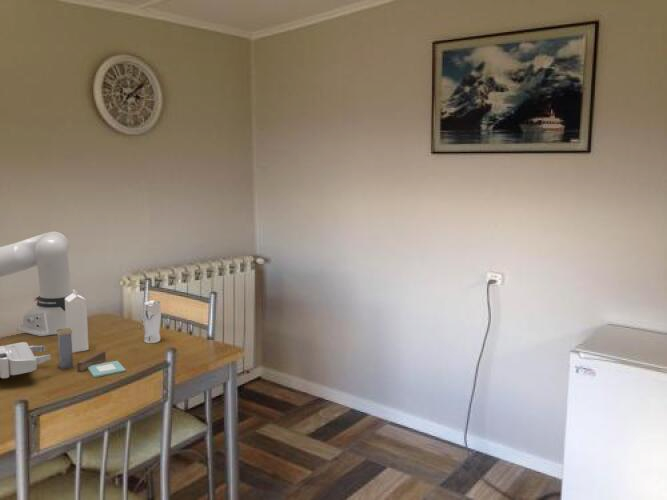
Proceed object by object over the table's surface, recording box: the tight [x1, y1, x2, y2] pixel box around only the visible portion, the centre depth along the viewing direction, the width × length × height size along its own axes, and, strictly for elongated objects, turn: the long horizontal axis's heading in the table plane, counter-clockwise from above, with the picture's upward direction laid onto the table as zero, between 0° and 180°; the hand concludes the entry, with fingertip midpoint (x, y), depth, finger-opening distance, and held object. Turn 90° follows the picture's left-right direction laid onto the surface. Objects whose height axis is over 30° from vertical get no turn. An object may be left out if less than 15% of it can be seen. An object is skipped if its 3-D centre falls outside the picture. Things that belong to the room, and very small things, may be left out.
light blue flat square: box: [87, 360, 127, 378], centre depth 193 cm, size 10×10×1 cm
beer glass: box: [141, 300, 162, 344], centre depth 222 cm, size 7×7×15 cm
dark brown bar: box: [76, 350, 107, 373], centre depth 196 cm, size 2×12×3 cm, turn 165°
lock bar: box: [56, 328, 74, 370], centre depth 193 cm, size 4×4×13 cm
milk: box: [65, 288, 89, 354], centre depth 210 cm, size 6×6×22 cm
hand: (47, 352), depth 190 cm, fingers open, 8 cm apart
